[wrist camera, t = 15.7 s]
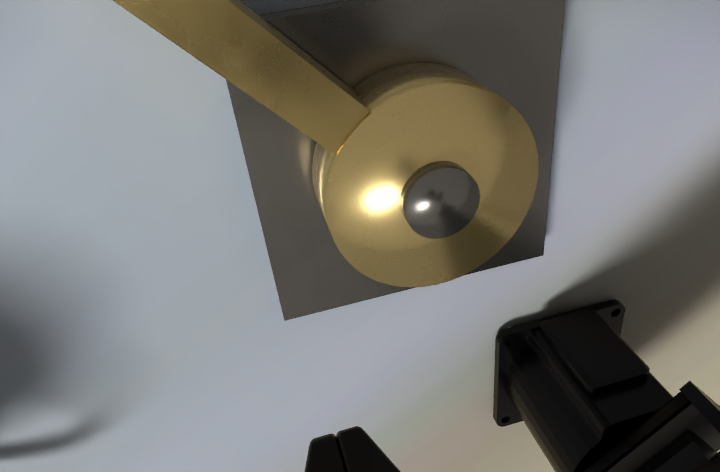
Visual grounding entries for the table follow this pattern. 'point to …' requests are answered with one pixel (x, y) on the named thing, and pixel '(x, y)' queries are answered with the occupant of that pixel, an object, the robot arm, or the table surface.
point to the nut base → (354, 65)
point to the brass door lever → (378, 144)
